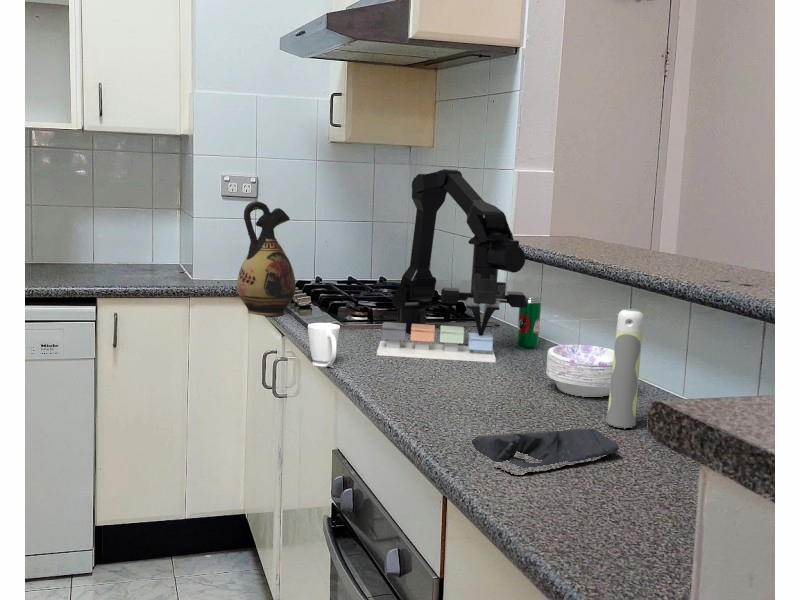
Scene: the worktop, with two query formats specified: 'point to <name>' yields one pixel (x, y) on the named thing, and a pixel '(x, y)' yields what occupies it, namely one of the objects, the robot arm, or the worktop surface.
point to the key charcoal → (393, 331)
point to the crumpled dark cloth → (546, 446)
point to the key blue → (480, 341)
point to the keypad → (433, 351)
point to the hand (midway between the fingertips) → (480, 335)
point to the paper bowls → (581, 369)
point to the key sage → (451, 334)
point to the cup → (323, 343)
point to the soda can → (529, 323)
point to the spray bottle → (625, 369)
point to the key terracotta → (422, 332)
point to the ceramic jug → (265, 266)
